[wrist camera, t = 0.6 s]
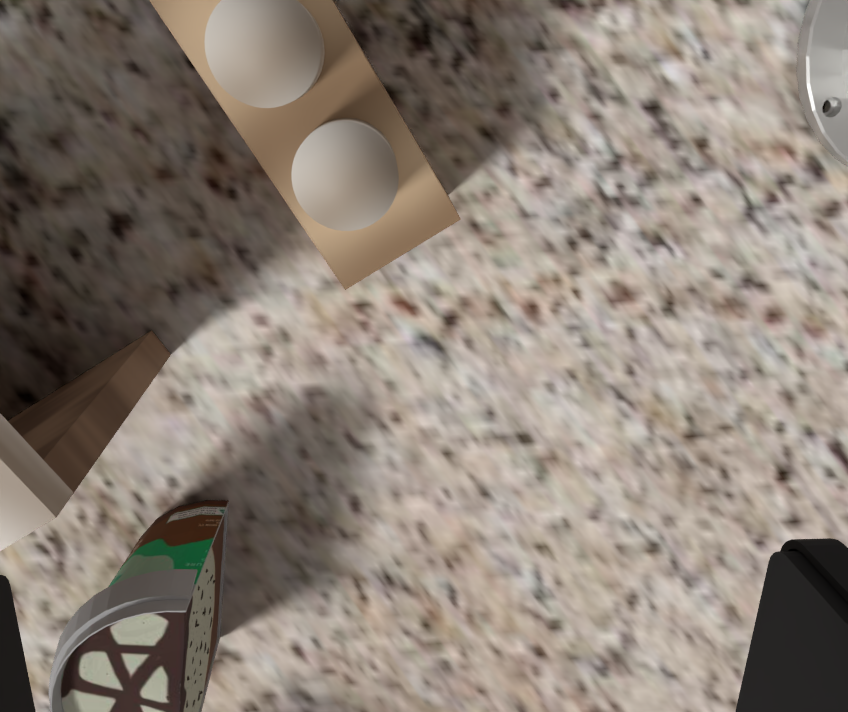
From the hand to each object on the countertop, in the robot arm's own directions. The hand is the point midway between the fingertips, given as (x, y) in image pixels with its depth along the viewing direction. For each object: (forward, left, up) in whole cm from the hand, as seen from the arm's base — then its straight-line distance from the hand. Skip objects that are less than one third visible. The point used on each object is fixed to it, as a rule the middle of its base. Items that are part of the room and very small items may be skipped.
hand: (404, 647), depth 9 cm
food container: (+21, +10, -29) cm, 37 cm away
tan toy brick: (0, -6, -29) cm, 29 cm away
